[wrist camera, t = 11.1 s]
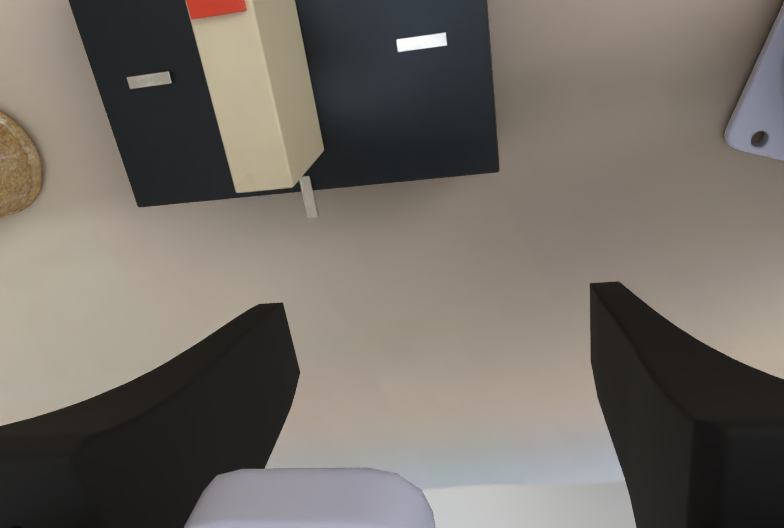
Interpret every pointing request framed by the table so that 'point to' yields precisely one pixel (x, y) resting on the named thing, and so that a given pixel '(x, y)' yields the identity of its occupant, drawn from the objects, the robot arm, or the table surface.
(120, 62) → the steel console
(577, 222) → the table surface
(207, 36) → the bar knob
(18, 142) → the sprinkles bottle
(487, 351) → the table surface
